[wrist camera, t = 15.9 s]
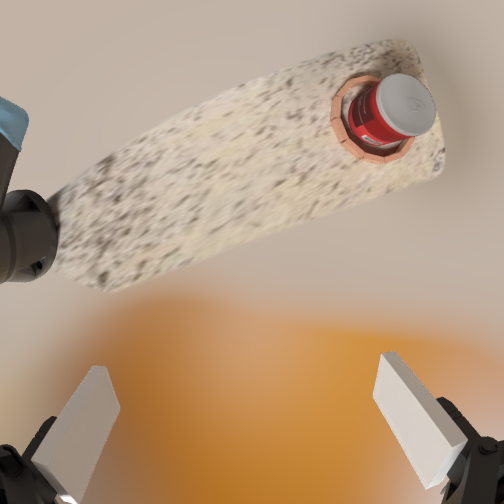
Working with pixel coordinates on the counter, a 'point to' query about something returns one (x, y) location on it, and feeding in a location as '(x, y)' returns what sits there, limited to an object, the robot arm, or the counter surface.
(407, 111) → the canned food
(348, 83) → the ring
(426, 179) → the counter surface
